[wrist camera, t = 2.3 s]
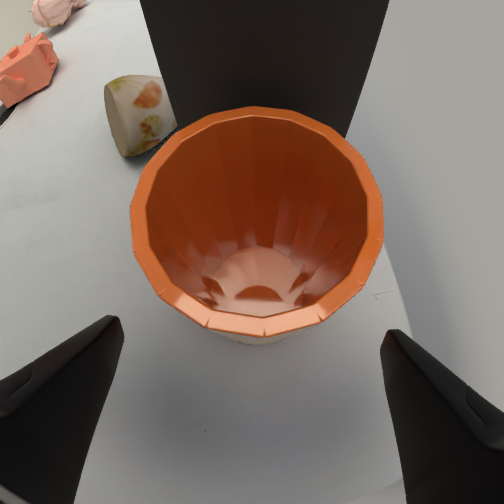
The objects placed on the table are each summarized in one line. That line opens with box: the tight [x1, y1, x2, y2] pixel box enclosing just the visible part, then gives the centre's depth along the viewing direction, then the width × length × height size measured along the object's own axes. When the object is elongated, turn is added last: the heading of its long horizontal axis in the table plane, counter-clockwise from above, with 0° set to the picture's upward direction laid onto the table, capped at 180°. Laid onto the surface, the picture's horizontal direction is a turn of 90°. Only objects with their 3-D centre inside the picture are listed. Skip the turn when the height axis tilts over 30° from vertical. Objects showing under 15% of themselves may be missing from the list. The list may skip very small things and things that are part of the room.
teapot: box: [0, 32, 59, 108], centre depth 26 cm, size 12×15×8 cm
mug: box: [104, 75, 178, 157], centre depth 22 cm, size 8×10×10 cm
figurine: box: [29, 0, 86, 28], centre depth 34 cm, size 11×12×18 cm
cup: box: [130, 106, 384, 345], centre depth 14 cm, size 7×7×13 cm
